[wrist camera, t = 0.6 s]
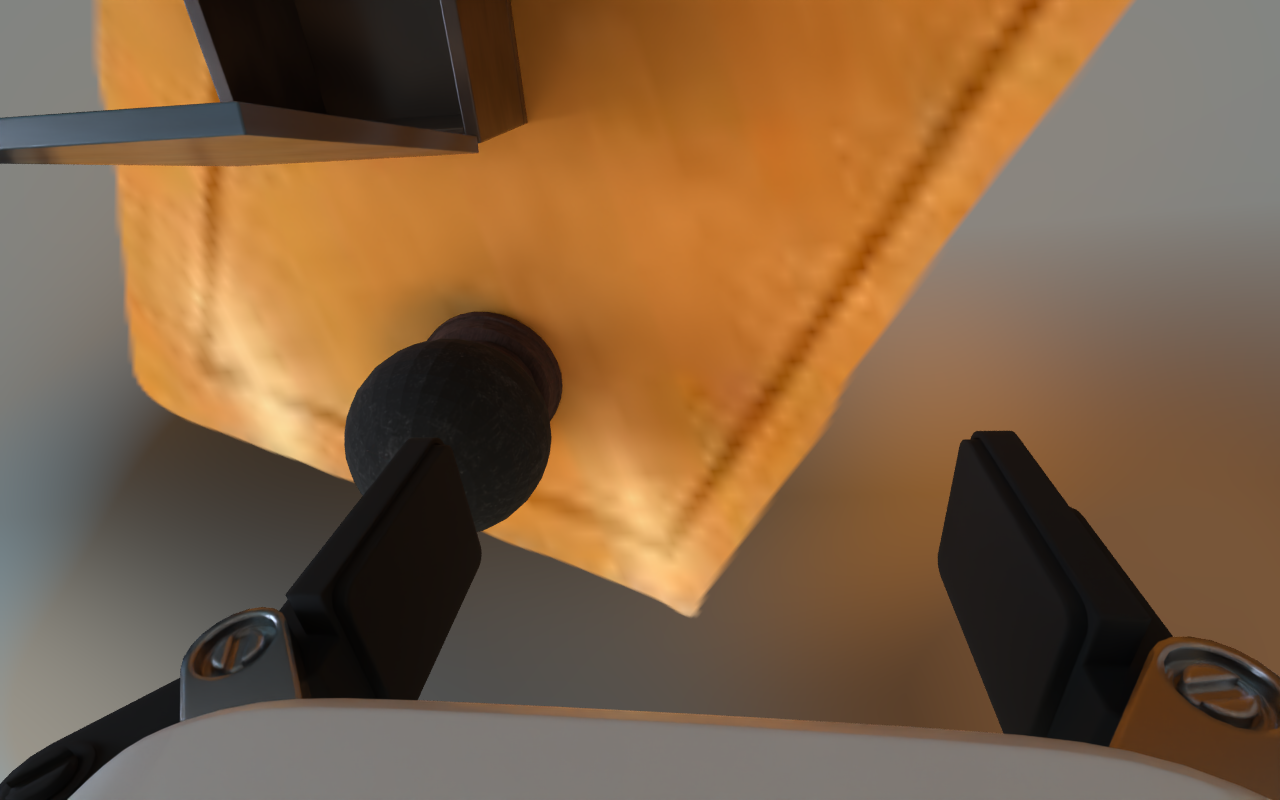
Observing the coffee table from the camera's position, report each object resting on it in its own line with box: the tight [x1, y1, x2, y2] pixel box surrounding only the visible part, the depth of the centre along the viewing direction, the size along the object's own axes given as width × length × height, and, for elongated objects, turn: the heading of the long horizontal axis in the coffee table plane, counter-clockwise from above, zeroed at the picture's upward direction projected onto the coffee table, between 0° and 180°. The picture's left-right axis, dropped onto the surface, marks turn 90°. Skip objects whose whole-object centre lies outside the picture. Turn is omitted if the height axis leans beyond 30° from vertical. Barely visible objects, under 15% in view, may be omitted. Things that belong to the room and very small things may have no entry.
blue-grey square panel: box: [0, 101, 479, 166], centre depth 25 cm, size 16×14×1 cm
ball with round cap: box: [345, 312, 562, 532], centre depth 43 cm, size 13×13×15 cm
